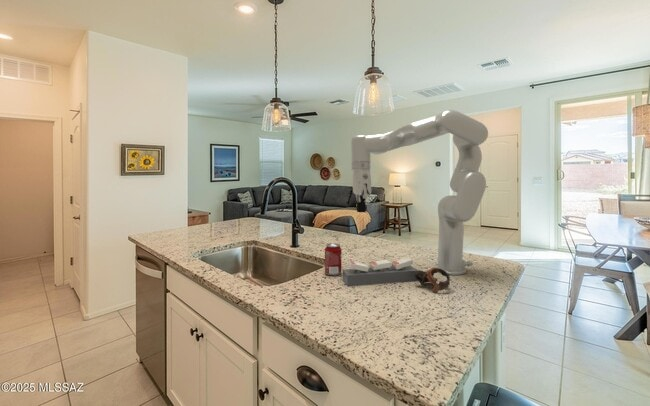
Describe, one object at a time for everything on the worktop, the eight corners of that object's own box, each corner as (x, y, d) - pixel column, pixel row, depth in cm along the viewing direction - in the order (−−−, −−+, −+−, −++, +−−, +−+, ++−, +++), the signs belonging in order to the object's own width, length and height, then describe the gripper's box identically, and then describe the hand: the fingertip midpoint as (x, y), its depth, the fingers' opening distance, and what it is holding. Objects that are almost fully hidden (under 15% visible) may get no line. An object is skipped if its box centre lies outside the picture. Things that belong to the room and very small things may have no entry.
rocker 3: (408, 261, 120) (407, 256, 119) (413, 264, 116) (412, 259, 115) (392, 266, 118) (391, 262, 118) (396, 269, 114) (395, 265, 114)
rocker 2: (386, 263, 118) (386, 259, 118) (391, 266, 114) (390, 261, 114) (370, 266, 117) (369, 262, 116) (373, 270, 113) (373, 265, 112)
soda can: (340, 276, 119) (340, 247, 118) (323, 275, 121) (323, 246, 120) (342, 271, 126) (342, 243, 125) (326, 270, 127) (326, 242, 126)
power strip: (424, 273, 123) (425, 262, 123) (434, 279, 116) (434, 267, 116) (342, 279, 116) (342, 267, 116) (347, 286, 110) (347, 273, 109)
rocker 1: (364, 268, 116) (365, 263, 116) (367, 271, 112) (369, 266, 112) (347, 265, 115) (348, 260, 115) (350, 268, 111) (351, 263, 111)
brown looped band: (442, 284, 113) (451, 269, 108) (444, 304, 105) (453, 289, 101) (411, 274, 115) (418, 259, 110) (410, 293, 107) (417, 278, 102)
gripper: (376, 166, 115) (376, 213, 116) (363, 167, 129) (363, 209, 131) (358, 166, 113) (358, 214, 115) (346, 167, 128) (347, 210, 129)
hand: (361, 211), depth 123 cm, fingers closed
